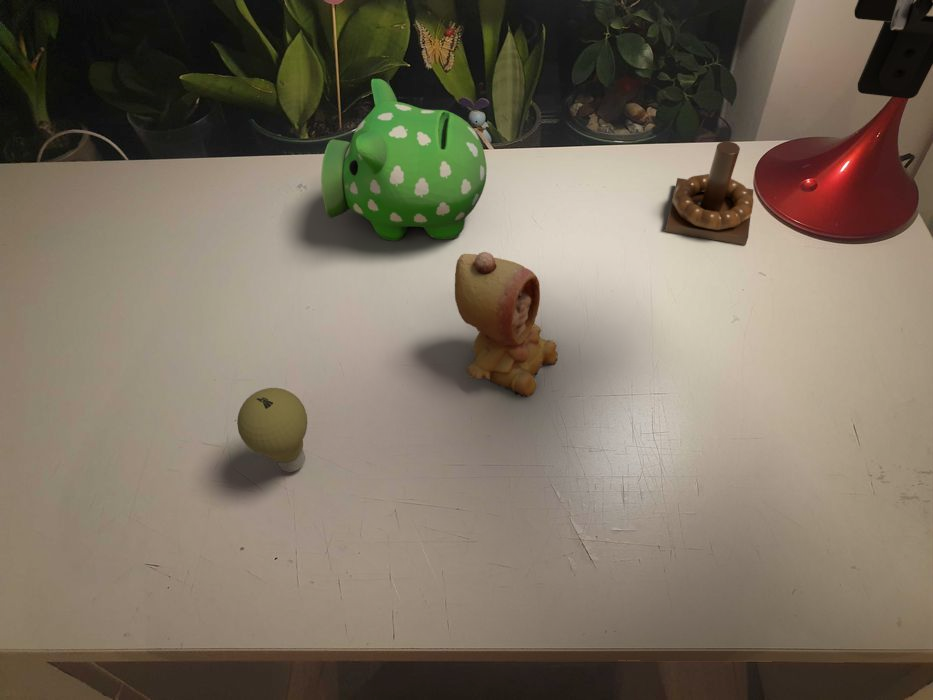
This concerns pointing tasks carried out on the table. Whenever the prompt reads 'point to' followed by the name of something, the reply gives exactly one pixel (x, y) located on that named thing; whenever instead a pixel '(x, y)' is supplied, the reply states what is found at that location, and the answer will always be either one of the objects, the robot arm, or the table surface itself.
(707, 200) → the post
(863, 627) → the table surface
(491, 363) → the figurine
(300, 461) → the light bulb
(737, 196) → the ring
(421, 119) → the piggy bank
